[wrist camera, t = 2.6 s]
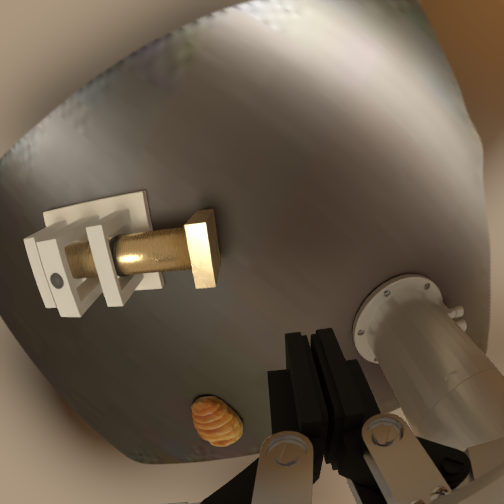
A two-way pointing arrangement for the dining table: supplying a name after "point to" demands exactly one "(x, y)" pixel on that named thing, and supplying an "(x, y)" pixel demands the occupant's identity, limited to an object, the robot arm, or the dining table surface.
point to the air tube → (158, 251)
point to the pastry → (216, 421)
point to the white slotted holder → (96, 231)
